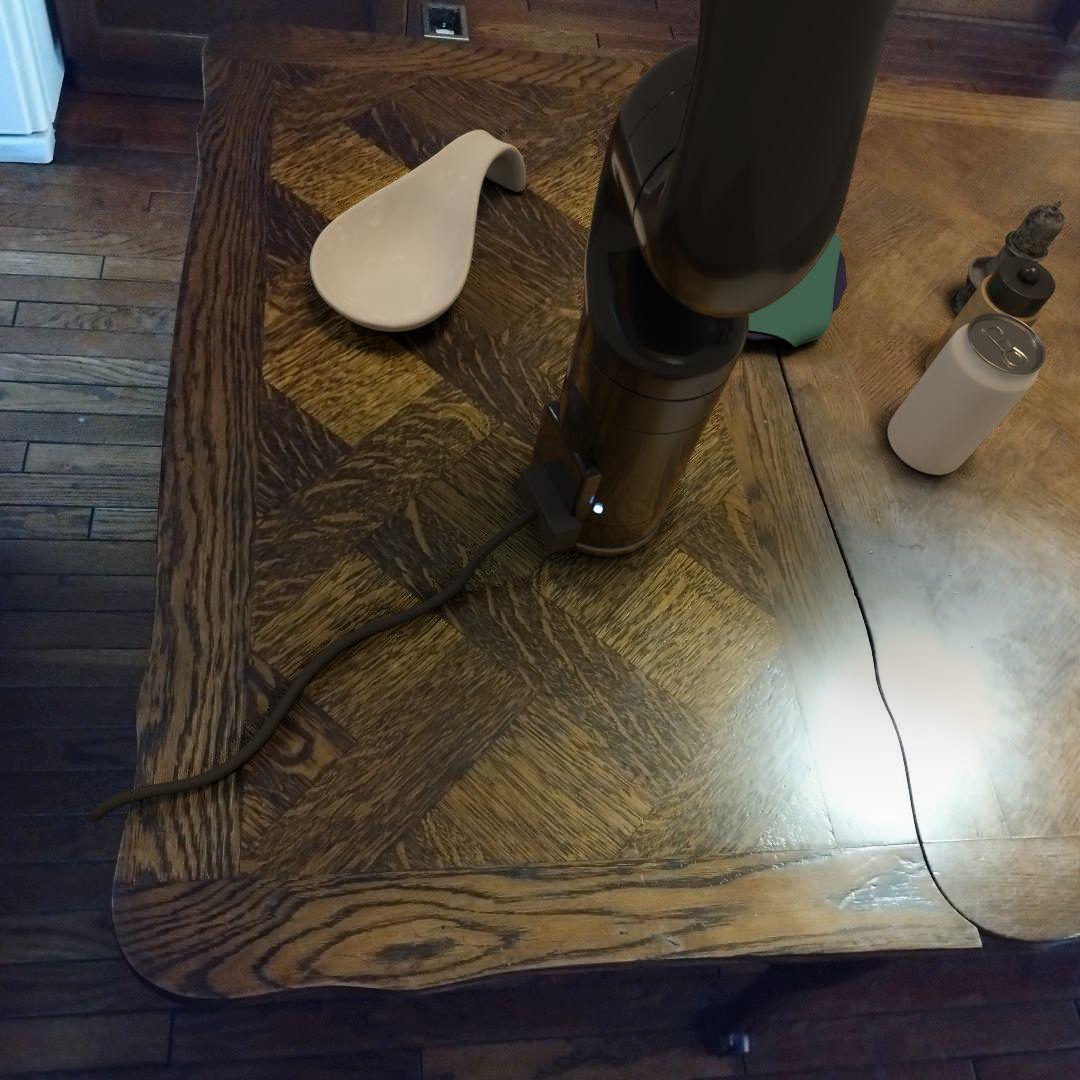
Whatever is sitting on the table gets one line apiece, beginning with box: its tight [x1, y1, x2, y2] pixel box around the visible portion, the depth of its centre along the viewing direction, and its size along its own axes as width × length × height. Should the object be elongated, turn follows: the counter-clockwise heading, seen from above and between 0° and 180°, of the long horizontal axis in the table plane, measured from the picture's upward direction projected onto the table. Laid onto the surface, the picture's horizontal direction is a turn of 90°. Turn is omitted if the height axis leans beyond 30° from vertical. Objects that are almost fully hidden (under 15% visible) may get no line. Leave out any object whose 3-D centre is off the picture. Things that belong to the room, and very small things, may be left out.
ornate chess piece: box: [950, 200, 1066, 317], centre depth 82 cm, size 6×6×12 cm
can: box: [887, 312, 1046, 476], centre depth 73 cm, size 6×6×12 cm
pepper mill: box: [924, 257, 1056, 372], centre depth 78 cm, size 5×5×12 cm
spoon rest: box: [309, 129, 527, 333], centre depth 78 cm, size 24×12×7 cm, turn 151°
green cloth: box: [746, 232, 848, 348], centre depth 87 cm, size 20×30×2 cm, turn 165°
